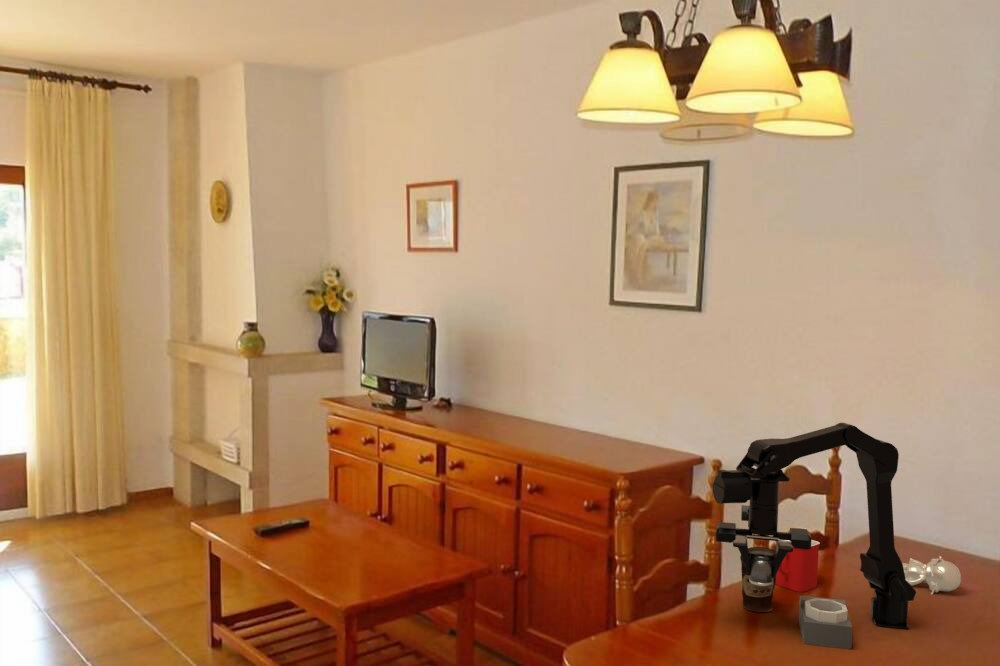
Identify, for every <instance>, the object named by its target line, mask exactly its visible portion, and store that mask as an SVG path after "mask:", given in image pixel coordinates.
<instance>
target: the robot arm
mask: <svg viewBox="0 0 1000 666" xmlns="http://www.w3.org/2000/svg"><path fill="white" fill-rule="evenodd" d="M843 446H845V447H847V448H848V449H849V450H850V451H852V452H854V453H855V454H856V458H857V463H858V467H859V469H860V471H861V473H862V475H863V477H864V479H865V482H866V498H867V500H866V501H867V513H868V514H867V517H868V533H869V547H868V549H867V551H866V553H865V552H861V553H860V554H859V557H860V563H861V564H860V568H859V571H860V572H862V574H863V577H864V579H865V580H867V581H868V584H869V588H870V589H872V590H874V596H872V597H871V599H870V601H871V602H870V618H871V619H872V620H873V622H874V624H875V625H876V626H879V627H887V628H896V629H897V628H898V629H905V630H909V629H910V625H909V624H908V615H909V614H908V611H909V602H910V601H911V602H912V601H914V599H915V597H916V594H917V590H916V589H915V588H914V587H913V585H912V586H911V585H910V584H909V583H908V582H907V581H906V580H905V573H904V569H903V564H902V563H903V561H902V560H901V558H900V555H899V554H898V552H897V550H896V548H895V530H894V513H893V512H894V509H893V493H892V481H893V479H894V477H896V474H897V472H898V466H899V454H900V453H899V451H898V448H897V447H896V446H895V445H894V444H892V443H890V442H887V441H884V440H881V439H877V438H875V437H873V436H871V435H869V434H867V433H866V432H864V431H862V430H861V429H860V428H858V427H857V426H856V425H854V424H850V423H846V422H839V423H837V424H835V425H831V426H828V427H825V428H821V429H817V430H814V431H810V432H806V433H802V434H798V435H796V436H792V437H788V438H764V439H763V438H762V439H756V440H754V441H752V442H750V444H749V447H748V449H747V452H746V453H745V455H744V457H743V458H742V459H741V461H740V462H739V463H738V465H737V466H736V468H735V470H731V469H730V470H728V469H727V470H726V469H718V470H717V475H716V476H715V477H714V480H713V483H712V495H713V499H714V500H715V502H716V503H717V504H721V505H722V504H742V505H741V515H740V517H741V519H740V520H741V521H742V522H743V521H744V522H748V523H747V528H739V527H737V523H735V522H727V521H726V522H723V521H722V522H721V521H719V522H717V524H716V532H715V534H716V535H715V536H716V537H715V541H716V542H719V543H720V542H721V543H729V544H730V543H731V544H732V547H733V548H737V549H738V551H739V553H740V556H741V555H742V558H743V560H744V564H745V567H746V570H747V574H748V575H750V562H749V553H748V548H749V544H748V539H750V540H758V541H759V540H760V541H761V540H763V541H775V542H776V541H777V544H776V546H775V551H776V552H775V558H774V564H773V578H775V576H776V574H777V572H778V569H779V567H780V565H781V563H782V561H783V559H784V558H785V556H786V554H787V553H788V552H793V547H794V548H796V549H807V550H809V549H811V540H812V536H811V532H810V531H809V530H808V529H805V528H798V527H797V528H796V527H789V532H787V531H786V532H785V531H778V526H779V525H778V524H779V523H778V522H779V521H778V520H779V496H780V495H779V494H780V482H781V483H782V482H789V481H790V477H788V476H787V475H786V474H785V473H784V471H783V469H785V468H787V467H789V466H790V465H791V464H792V463H793V462H795V461H796V460H798V459H800V458H804V457H807V456H811V455H814V454H817V453H821V452H822V453H823V452H825V451H828V450H833V449H836V448H839V447H843ZM755 467H756V468H755ZM748 501H749V505H744V504H745V503H747V502H748ZM792 546H793V547H792Z"/></svg>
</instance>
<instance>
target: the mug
mask: <svg viewBox="0 0 1000 666" xmlns="http://www.w3.org/2000/svg"><path fill="white" fill-rule="evenodd" d="M775 543H776V544H777V541H775ZM820 544H821V542H819V541H817V540H813V539H811V549H809V550H807V549H796V548H794V547H793V546H792V547H793V552H788V553H787V554H786V556H785V558H784V559H783V561H782V563H781V565H780V567H779V569H778V572H777V574H776V582H775V586H779V587H781V588H785V589H788V590H791V591H794V592H798V593H805V592H807V591H810V590H813V589H815V588H817V586H818V574H819V573H818V569H819V552H820V551H819V550H820Z"/></svg>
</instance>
